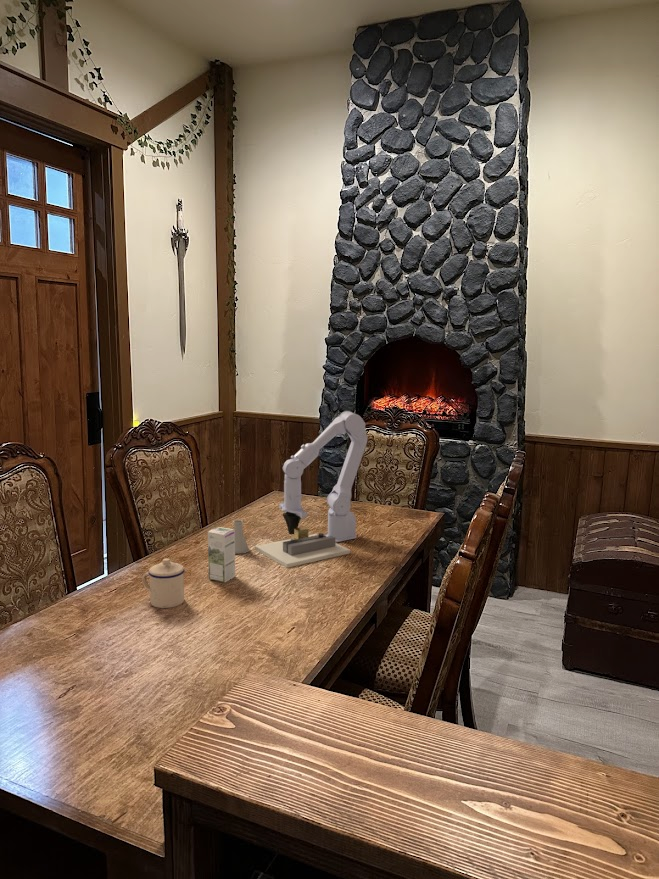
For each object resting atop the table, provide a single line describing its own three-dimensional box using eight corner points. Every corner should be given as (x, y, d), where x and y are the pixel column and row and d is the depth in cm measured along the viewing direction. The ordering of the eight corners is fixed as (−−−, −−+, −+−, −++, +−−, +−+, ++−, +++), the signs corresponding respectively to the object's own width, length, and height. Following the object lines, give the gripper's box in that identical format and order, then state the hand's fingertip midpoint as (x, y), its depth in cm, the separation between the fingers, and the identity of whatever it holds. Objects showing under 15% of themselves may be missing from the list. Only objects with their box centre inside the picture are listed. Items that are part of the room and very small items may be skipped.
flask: (251, 547, 212) (251, 518, 210) (246, 555, 205) (246, 524, 203) (230, 546, 213) (229, 517, 211) (224, 554, 206) (224, 523, 204)
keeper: (304, 539, 217) (304, 526, 216) (308, 541, 215) (308, 528, 214) (294, 541, 214) (294, 528, 214) (298, 543, 212) (298, 530, 212)
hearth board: (315, 537, 224) (315, 525, 223) (350, 553, 208) (350, 540, 207) (254, 549, 210) (254, 537, 209) (286, 567, 194) (286, 554, 193)
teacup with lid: (191, 598, 171) (191, 556, 169) (172, 611, 162) (171, 567, 161) (153, 591, 175) (152, 550, 173) (132, 604, 166) (131, 561, 165)
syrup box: (236, 576, 186) (235, 528, 184) (224, 583, 181) (223, 534, 179) (219, 573, 189) (219, 525, 186) (207, 580, 183) (206, 531, 181)
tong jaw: (322, 542, 214) (322, 532, 213) (325, 544, 212) (326, 534, 211) (282, 551, 205) (282, 540, 205) (286, 553, 203) (286, 542, 203)
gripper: (271, 492, 220) (271, 530, 222) (293, 501, 209) (293, 541, 211) (289, 489, 224) (289, 526, 226) (312, 498, 213) (311, 537, 215)
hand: (292, 533), depth 219 cm, fingers closed
